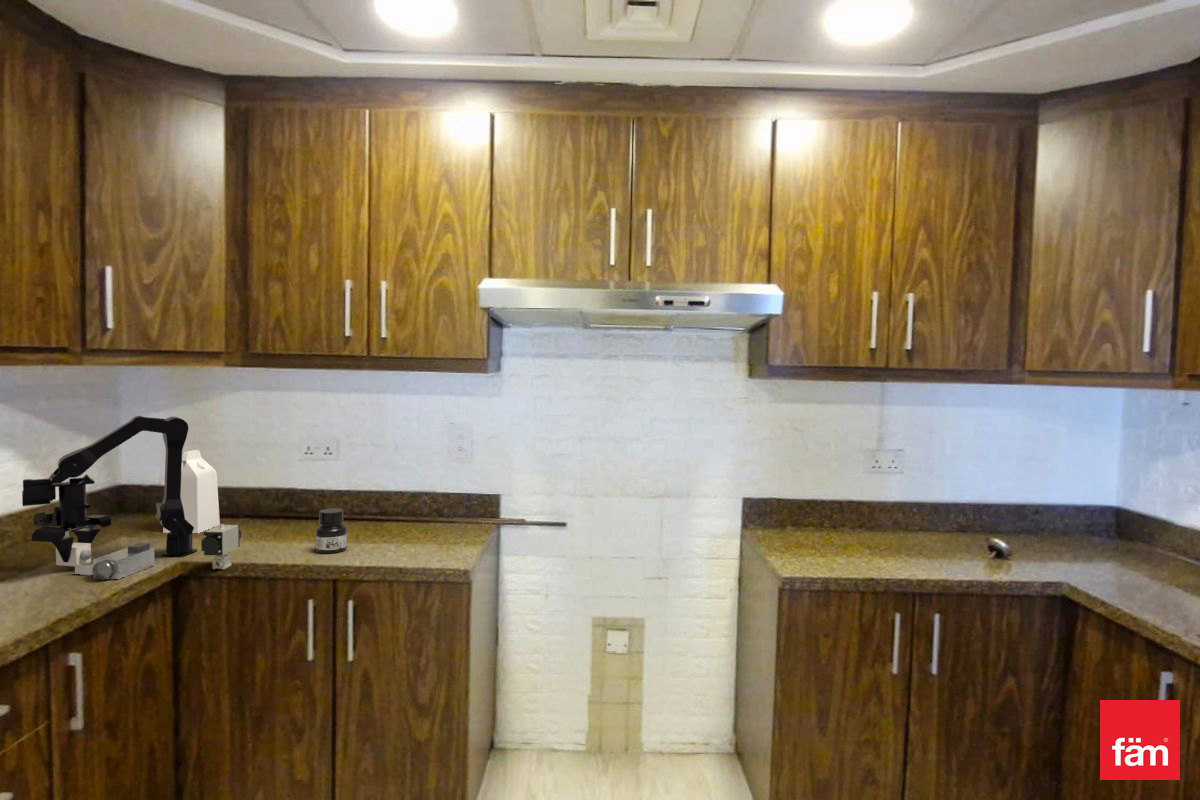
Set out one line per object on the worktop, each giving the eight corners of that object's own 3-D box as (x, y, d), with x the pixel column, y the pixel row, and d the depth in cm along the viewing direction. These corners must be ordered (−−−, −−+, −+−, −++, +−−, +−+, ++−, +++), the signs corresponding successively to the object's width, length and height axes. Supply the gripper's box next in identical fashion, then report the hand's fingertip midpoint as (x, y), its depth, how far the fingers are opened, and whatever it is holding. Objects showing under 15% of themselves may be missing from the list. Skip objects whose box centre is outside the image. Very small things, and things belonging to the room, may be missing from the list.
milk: (186, 524, 232) (186, 448, 231) (219, 525, 232) (219, 449, 231) (163, 532, 220) (162, 452, 219) (197, 533, 220) (196, 453, 219)
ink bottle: (313, 555, 199) (313, 514, 198) (314, 547, 207) (314, 508, 206) (348, 552, 202) (348, 512, 202) (348, 545, 211) (348, 506, 210)
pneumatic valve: (242, 561, 191) (242, 519, 190) (218, 574, 179) (217, 529, 179) (223, 561, 191) (222, 519, 190) (197, 574, 179) (197, 529, 179)
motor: (107, 563, 187) (107, 539, 187) (154, 566, 185) (154, 542, 185) (63, 578, 173) (62, 553, 173) (113, 581, 172) (112, 556, 172)
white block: (71, 560, 184) (70, 542, 184) (95, 561, 183) (94, 543, 183) (56, 565, 180) (55, 546, 179) (80, 566, 179) (80, 547, 179)
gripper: (76, 493, 191) (77, 548, 192) (11, 507, 172) (12, 568, 173) (112, 495, 189) (113, 550, 190) (50, 509, 171) (52, 570, 172)
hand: (73, 559), depth 181 cm, fingers closed on white block, 4 cm apart
